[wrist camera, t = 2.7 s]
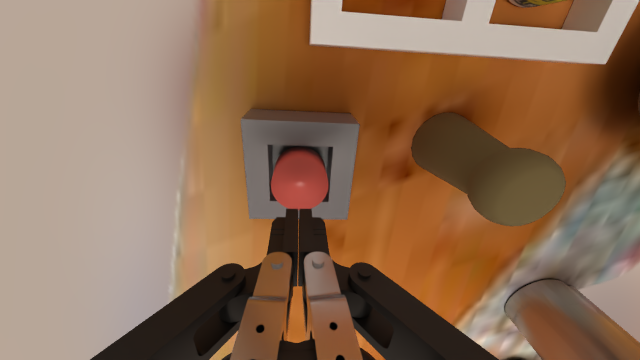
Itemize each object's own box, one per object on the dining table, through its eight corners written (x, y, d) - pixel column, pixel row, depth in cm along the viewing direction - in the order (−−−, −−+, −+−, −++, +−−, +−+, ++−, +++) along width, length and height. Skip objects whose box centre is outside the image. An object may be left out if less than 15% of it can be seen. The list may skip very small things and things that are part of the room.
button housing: (350, 113, 22) (359, 124, 19) (341, 197, 26) (347, 219, 23) (250, 108, 22) (240, 119, 18) (256, 196, 26) (249, 218, 22)
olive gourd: (412, 118, 23) (493, 163, 13) (475, 107, 23) (605, 145, 13) (410, 174, 26) (477, 247, 16) (467, 165, 26) (569, 232, 16)
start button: (326, 147, 20) (330, 160, 18) (323, 192, 22) (326, 210, 20) (274, 145, 20) (269, 159, 17) (275, 191, 22) (271, 210, 19)
